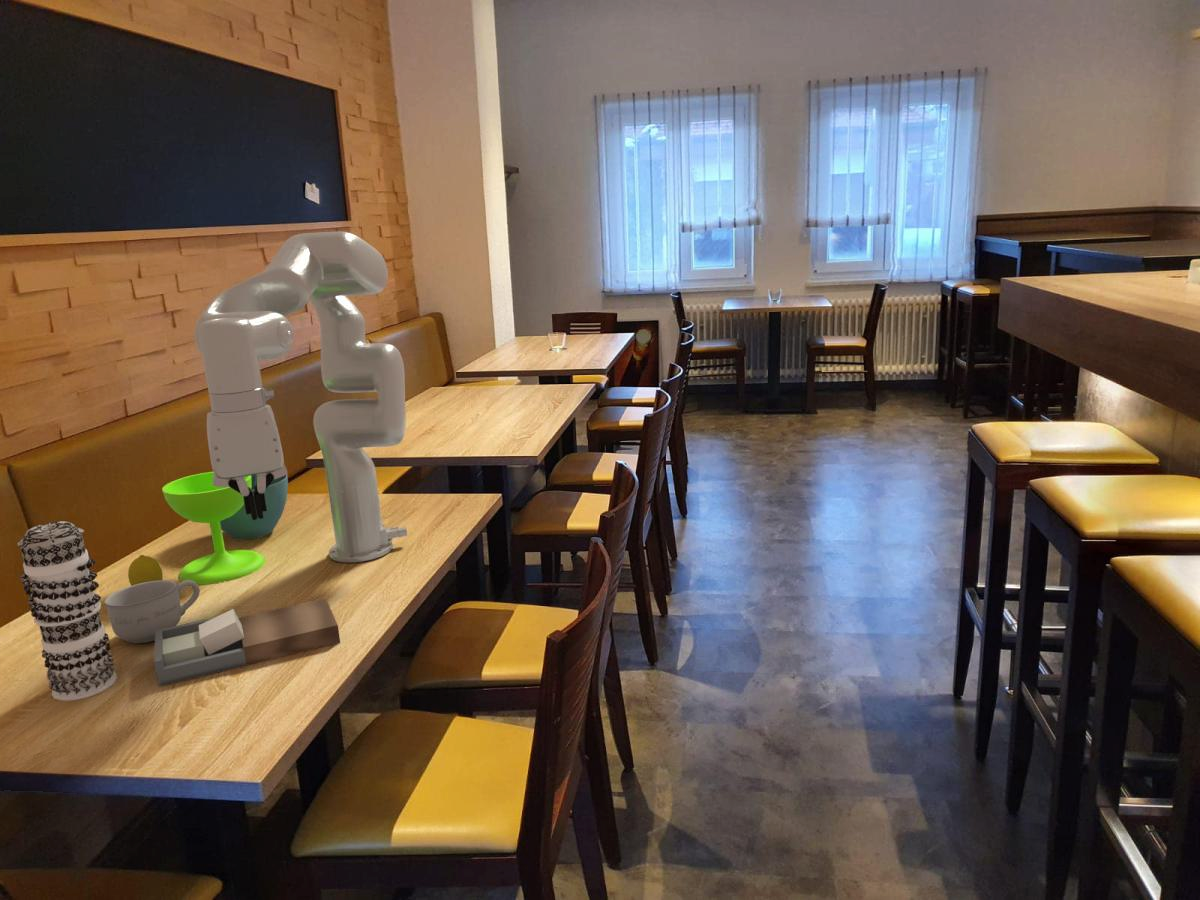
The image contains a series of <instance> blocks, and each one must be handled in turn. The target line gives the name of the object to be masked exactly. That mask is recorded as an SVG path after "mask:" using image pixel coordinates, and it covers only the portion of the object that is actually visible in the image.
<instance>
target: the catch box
mask: <svg viewBox="0 0 1200 900" xmlns="http://www.w3.org/2000/svg"><path fill="white" fill-rule="evenodd" d="M235 613H236V615H237V617H238V618H239V615H238V611H237V612H235ZM215 617H216V616H213V617H210V618H205V619H201V620H195V621H192V622H191V621H190V622H186V623H183V624H182V623H181V624H177V625H176V626H172V627H168V628H163V629H158V630H155V640H154V655H153V657H154V659H153V660H154V667H155V671H156V676H157V682H158V687H159V688H160V687H163V686H167V685H172V684H175V683H180V682H184V681H188V680H191V679H196V678H199V677H200V678H201V677H204V676H209V675H212V674H213V675H214V674H216V673H217V674H218V673H220V672H225V671H229V670H232V669H237V668H240V667H241V668H242V667H246V666H247V665H246V659H245V654H244V648H243V643H242V639H240V640H238V641H236V642H234V643H232V644H230V645H228V646H226V647H224V648H222V649H220V650H218V651H216V652H214V653H212V654H210V655H208V653H207V651H206V649H205V656H206V657H202V658H198V659H194V660H190V661H185V662H181V663H177V664H173V665H169V666H165V663H164V658H163V639H168V638H172V637H176V636H181V635H185V634H190V633H194V632H198V631H199V625H200V624H202V623H205V622H207V621H209V620H211V619H213V618H215Z"/></svg>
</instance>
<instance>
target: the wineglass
mask: <svg viewBox="0 0 1200 900" xmlns="http://www.w3.org/2000/svg"><path fill="white" fill-rule="evenodd" d="M213 473H214V471H208V472H201V473H196V474H192V475H188V476H184V477H181V478H177V479H176V480H173V481H170V482H168V483H166V484H165V485H164V486H163V487H162V488H161V489H162V490H161V491H162V494H163V496H164V499H165V501H166V503H167V504H168V505H169V507H170V508H171V509H172V510H173V511H174V512H175V513H176V514H178V515H179V516H180V517H181V518H183V519H186V520H189V521H191V522H193V523H194V522H195V523H199V524H201V523H202V524H209V527H210V533H211V538H212V545H213V550H214V552H213V553H211V554H207V555H204V556H202V557H199V558H197V559H194V560H192V561H190V562H189V563H187V564H186V565H185V566H184V567H183V568H181V570H180V571H179V573H178V574H179V576H178V579H179V581H181V582H182V581H185V580H192V581H194V582H195V583H197V584H198V585H213V584H212V583H215V584H220V583H219V582H221V583H225V582H224V581H226V582H230V580H231V581H234V580H237V579H240V578H243V577H244V578H245V577H246V576H249V575H251V574H254V573H255V572H257V571H259V570H260V569H261V568H262V567H264V565H265V564H264V563H266V559H265V557H264V555H262V554H260V553H259V552H257V551H254V550H248V549H234V550H232V549H231V550H226V549H225V547H226V546H225V542H224V536H223V531H222V530H221V524H220V521H222V520H224V519H226V518H229V517H231V516H233V515H234V514H235V513H236V512H237V511H239V510H240V509H241V508H242V507H243V505H244V498H243V496H242V495H241V494H240V493H239V492H237V491H236V490H234V489H232V488H231V487H216V486H214V485H213ZM244 478H245V480H246V483H247V486H248V487H249V488H250V489H251V487H252V481H251V476H244ZM235 479H236V478H235ZM258 569H259V570H258ZM254 571H255V572H254Z"/></svg>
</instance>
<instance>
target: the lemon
mask: <svg viewBox="0 0 1200 900" xmlns="http://www.w3.org/2000/svg"><path fill="white" fill-rule="evenodd" d="M127 574H128V582H129V584H130V586H133V585H136V584H140V583H145V582H151V581H161V580H163V578H164V577H163V576H164V575H163V570H162V567H161V565H160V563H159V562H158V560H157V559H155V558H153V557H152V556H149V555H144V554H140V555H139V556H138V557H137V558H135V559H134V560H133V561H132V562H131V563H130V565H129V567H128V573H127Z"/></svg>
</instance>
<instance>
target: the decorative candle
mask: <svg viewBox="0 0 1200 900" xmlns="http://www.w3.org/2000/svg"><path fill="white" fill-rule="evenodd" d="M84 533H85V530H84V529H83V528H81V527H77V526H76V525H75V524H74V523H72V522H69V521H64V520H63V521H52V522H47V523H43V524H38V525H36V526H34V527H31V528H29V529H28V530H26V532H25V533H24V536H23V538H22V539H21V540H19V541H18V542H17V546H18V547H20V551H21V555H22V559H23V564H22V566H23V571H22V573H21V574H22V575H21V576H20V581H22V584H23V585H24V586H23V590H24V594H25V595H28V597H29V598H28V599H27V603H28V604H29V607H30V614H31V617H32V618H34V620H33V623H34V624H35V625H37V626H38V627H39V630H40V635H41V640H40V641H41V646H42V649H43V650H42V651H41V657H42V658H44V659H45V660H44V667H45V668H46V669H48V670H47V671H46V678H47V680H48V681H49V683H48V687H49V689H51V690H52V692H51V696H52V697H53V699H55V700H56V701H61V702H62V701H63V702H69V701H70V702H71V701H78V700H83V699H87V698H90V697H93V696H94V695H95V696H96V695H98V694H100V693H102V692H104V691H105V690H107V689H110V688H111V687H112V686H113V685H114V684H115V683H116V682H117V680H118V679H117V678H118V676H117V673H116V672H115V670H116V666H115V663H114V662H113V661H114V660H115V659H114V658H113V654H112V653H110V650H111V644H110V643H109V640H110V638H109V635H108V633H106V630H105V626H104V623H103V622H102V619H101V614H100V610H101V609H102V603H101V598H102V597H101V596H100V594H98V593H97V594H96V593H95V592H94V591H96V590H97V589H98V588H99V587H100V584H99V582H97V581H95V579H96V578H97V577H98V574H97V572H95V571H93V570H90V568H92V567H93V566H94V565H95V564H96V561H95V560H94V559H93V558H91V557H89V552H88V549H86V547H85V542H84V541H85V540H84V538H83V534H84Z"/></svg>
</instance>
